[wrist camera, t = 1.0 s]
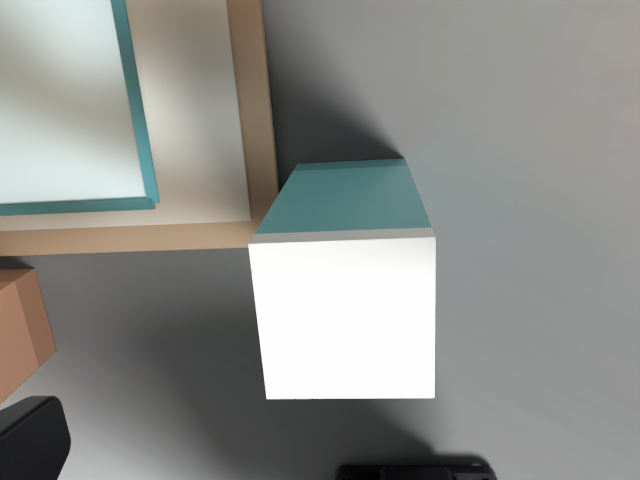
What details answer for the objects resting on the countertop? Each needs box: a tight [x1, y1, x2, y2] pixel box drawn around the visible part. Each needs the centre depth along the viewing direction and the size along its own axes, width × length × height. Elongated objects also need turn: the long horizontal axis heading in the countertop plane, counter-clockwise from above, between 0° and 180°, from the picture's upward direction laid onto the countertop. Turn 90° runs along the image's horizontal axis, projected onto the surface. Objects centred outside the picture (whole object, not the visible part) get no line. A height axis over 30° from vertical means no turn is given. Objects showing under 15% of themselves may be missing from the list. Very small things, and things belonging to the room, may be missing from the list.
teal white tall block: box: [248, 158, 436, 399], centre depth 14 cm, size 4×4×8 cm
